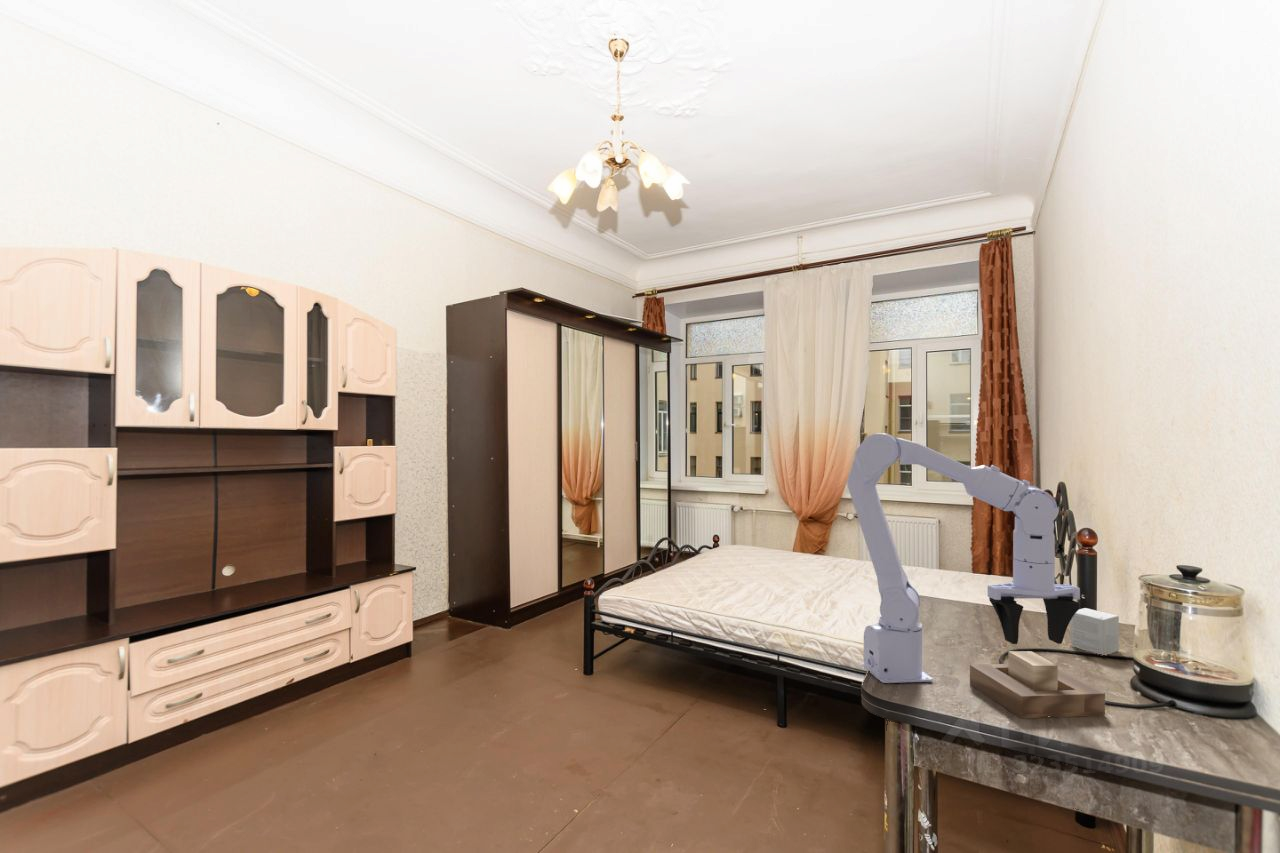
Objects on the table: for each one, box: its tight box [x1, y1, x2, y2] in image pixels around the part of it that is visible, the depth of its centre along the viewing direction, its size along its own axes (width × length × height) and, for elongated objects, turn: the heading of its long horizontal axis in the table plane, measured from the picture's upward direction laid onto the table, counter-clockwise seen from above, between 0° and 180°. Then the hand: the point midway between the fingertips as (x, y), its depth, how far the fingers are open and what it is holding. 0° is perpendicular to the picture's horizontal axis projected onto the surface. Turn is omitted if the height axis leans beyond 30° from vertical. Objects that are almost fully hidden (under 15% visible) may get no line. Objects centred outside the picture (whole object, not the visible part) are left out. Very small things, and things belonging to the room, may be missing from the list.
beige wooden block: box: [1008, 650, 1059, 691], centre depth 95 cm, size 4×6×6 cm, turn 1°
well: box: [969, 663, 1106, 719], centre depth 95 cm, size 14×12×3 cm
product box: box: [1070, 607, 1120, 656], centre depth 117 cm, size 6×6×7 cm
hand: (1033, 641), depth 95 cm, fingers open, 7 cm apart
